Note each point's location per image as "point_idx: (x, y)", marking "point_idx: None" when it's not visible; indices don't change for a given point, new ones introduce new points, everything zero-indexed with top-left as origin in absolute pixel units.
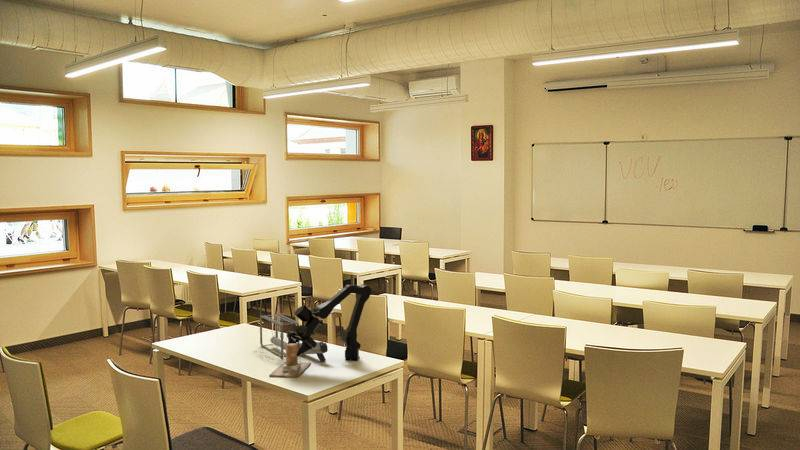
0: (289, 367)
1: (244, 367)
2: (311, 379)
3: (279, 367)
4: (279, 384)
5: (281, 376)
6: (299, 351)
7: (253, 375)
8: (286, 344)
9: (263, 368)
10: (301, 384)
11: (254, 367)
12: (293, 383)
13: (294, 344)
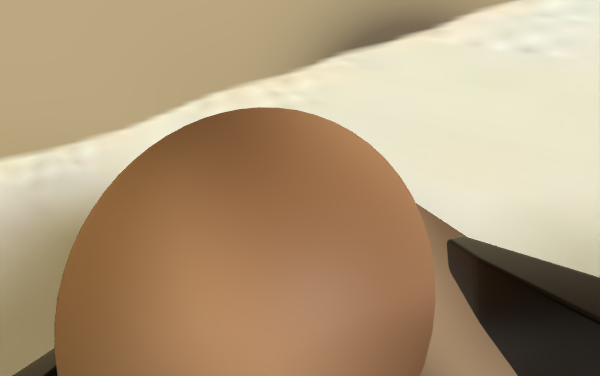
0: None
1: (582, 40)
2: (23, 344)
3: (426, 227)
4: (120, 130)
5: None
6: (39, 362)
7: (363, 56)
8: (353, 136)
9: (501, 134)
10: (15, 233)
11: (557, 90)
12: (69, 199)
13: (213, 363)
